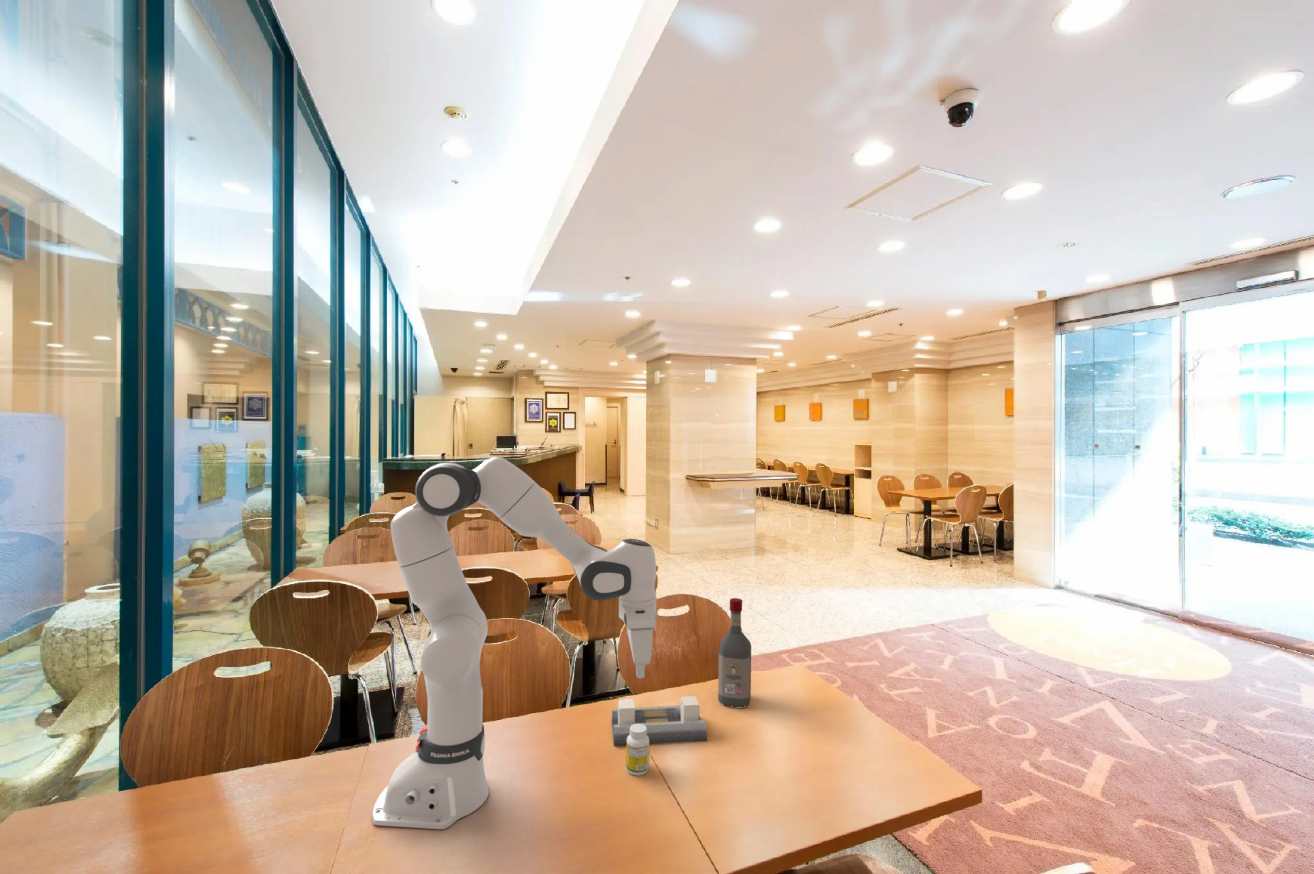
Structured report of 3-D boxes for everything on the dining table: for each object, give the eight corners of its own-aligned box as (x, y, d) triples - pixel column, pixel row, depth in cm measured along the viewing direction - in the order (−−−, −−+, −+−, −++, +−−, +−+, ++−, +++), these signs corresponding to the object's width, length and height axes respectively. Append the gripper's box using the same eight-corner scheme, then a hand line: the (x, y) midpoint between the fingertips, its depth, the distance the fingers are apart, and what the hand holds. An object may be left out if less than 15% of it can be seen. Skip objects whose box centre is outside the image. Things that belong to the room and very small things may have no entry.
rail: (613, 745, 134) (614, 729, 134) (611, 721, 146) (611, 706, 146) (707, 740, 138) (707, 724, 138) (697, 716, 150) (697, 702, 150)
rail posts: (619, 731, 138) (619, 708, 138) (617, 722, 143) (618, 699, 143) (698, 727, 141) (698, 704, 141) (694, 718, 146) (695, 695, 146)
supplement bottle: (642, 778, 122) (643, 736, 122) (621, 772, 124) (622, 730, 124) (652, 765, 127) (653, 725, 127) (632, 759, 129) (633, 719, 129)
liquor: (749, 710, 154) (750, 605, 154) (717, 705, 156) (718, 602, 156) (750, 695, 163) (752, 596, 163) (720, 691, 165) (722, 594, 165)
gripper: (621, 596, 135) (621, 651, 135) (627, 624, 115) (628, 688, 115) (646, 595, 136) (646, 649, 136) (656, 622, 115) (657, 686, 115)
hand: (638, 667), depth 125 cm, fingers open, 8 cm apart
